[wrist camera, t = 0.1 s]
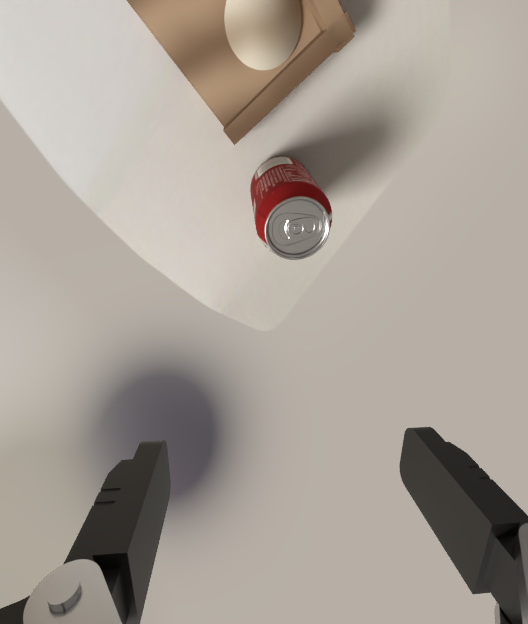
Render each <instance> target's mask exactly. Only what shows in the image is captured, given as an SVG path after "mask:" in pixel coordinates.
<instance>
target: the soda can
mask: <svg viewBox="0 0 528 624" xmlns="http://www.w3.org/2000/svg"><path fill="white" fill-rule="evenodd" d="M250 191H251V199H252V205H253V211H254V218H255V224H256V230H257V234H258V236H259V238H260V240H261V242H262V243H263V244H264V246H265V247H266V248H268V249H269V250H270V251H272V252H273V253H275V254H277V255H278V256H280V257H282V258H285V259H290V260H299V259H304V258H307V257H309V256H311V255H313V254H314V253H316V252H317V251H318V250H319V249H320V248H321V247H322V246H323V245H324V243H325V242H326V240H327V238H328V235H329V231H330V227H331V223H332V210H331V206H330V203H329V201H328V199H327V197H326V196H325V194H324V193H323V192H322V190H321V189H320V188H319V186H318V185H317V183H316V182H315V181H314V179H313V178H312V177H311V175H310V174H309V173H308V171H307V170H306V168H305V167H304V166H303V165H302V164H301V163H300V162H298V161H297V160H295V159H293V158H290V157H282V156H281V157H275V158H272V159H269V160H267V161H266V162H264V163H263V164H262V165H261V166H260V167H259V168H258V169H257V171H256V172H255V174H254V176H253V178H252V181H251V190H250Z"/></svg>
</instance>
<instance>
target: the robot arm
mask: <svg viewBox="0 0 528 624" xmlns="http://www.w3.org/2000/svg"><path fill="white" fill-rule="evenodd" d="M400 474H401V478H402V481H403V483H404V485H405V487H406V488H407V490H408V492H409V493H410V495H411V496H412V498H413V500H414V501H415V503H416V504H417V506H418V507H419V509H420V511H421V512H422V514H423V516H424V517H425V519H426V520H427V522H428V524H429V525H430V527H431V528H432V530H433V531H434V533H435V535H436V536H437V538H438V539H439V541H440V543H441V544H442V546H443V547H444V549H445V551H446V552H447V554H448V555H449V557H450V558H451V560H452V562H453V563H454V565H455V566H456V568H457V569H458V571H459V573H460V574H461V576H462V577H463V579H464V581H465V582H466V584H467V586H468V587H469V589H470V590H471V592H472V594H480V593H490V592H491V594H492V595H493V597H494V598H495V600H496V601H497V603H496V606H495V624H528V516H527V515H526V513H525V512H524V511H523V510H522V509H521V508H519V506H518V505H517V504H516V503H515V502H514V501H513V500H512V499H511V498H510V497H509V496H508V495H507V494H506V493H505V492H504V491H503V490H502V489H501V488H500V487H499V486H498V485H497V484H496V483H495V482H494V481H493V480H491V479H490V478H489V476H488V475H487V474H486V473H485V471H483V469H482V468H479V466H478V464H477V463H476V462H475V461H474V460H473V459H472V458H471V457H470V456H469V455H468V454H467V453H466V452H464V451H462V450H461V449H459V448H458V447H456V446H455V445H453V444H451V443H450V442H445V441H444V440H443V439H442V437H441V436H440V435H439V434H438V433H437V432H436V431H435V430H434V429H433V428H431V427H420V428H408V429H406V431H405V434H404V441H403V447H402V453H401V460H400ZM169 495H170V471H169V461H168V452H167V443H166V441H164V440H162V441H143V442H141V443H140V444H139V446H138V449H137V451H136V453H135V456H134V458H133V459H132V460H121V462H119V463H118V465H116V466H115V468H114V469H113V470H111V472H109V474H108V476H107V477H106V480H105V482H104V484H103V486H102V488H101V492H99V494H98V496H97V498H96V500H95V502H94V506H92V508H91V510H90V512H89V514H88V516H87V518H86V520H85V522H84V524H83V526H82V528H81V530H80V532H79V534H78V536H77V538H76V540H75V542H74V545H73V546H72V548H71V550H70V552H69V555H68V556H67V558H66V560H65V562H64V564H63V565H62V566H60V567H58V568H57V569H55V570H54V571H52V572H51V573H50V574H48V575H47V576H46V577H45V578H44V579H43V580H42V581H41V582H40V583H39V584H38V585H37V587H36V588H35V589H34V591H33V592H32V594H31V595H30V596H28V597H27V598H25V599H23V600H21V601H19V602H16V603H14V604H11V605H9V606H6V607H4V608H1V609H0V624H140V620H141V616H142V611H143V608H144V603H145V599H146V595H147V590H148V586H149V582H150V578H151V574H152V569H153V565H154V560H155V556H156V552H157V548H158V544H159V540H160V535H161V531H162V527H163V523H164V518H165V514H166V510H167V506H168V501H169Z"/></svg>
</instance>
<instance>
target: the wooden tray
mask: <svg viewBox="0 0 528 624" xmlns="http://www.w3.org/2000/svg"><path fill="white" fill-rule="evenodd" d="M127 1H128V3H129V4H130V5H131V7H132V8H133V9H134V10H135V12H136V13H137V14H138V16H139V17H140V18H141V20H142V21H143V22H144V23H145V25H146V26H147V27H148V29H149V30H150V31H151V33H152V34H153V35H154V36H155V38H156V39H157V40H158V42H159V43H160V44H161V46H162V47H163V48H164V49H165V51H166V52H167V53H168V55H169V56H170V57H171V59H172V60H173V61H174V62H175V64H176V65H177V66H178V68H179V69H180V70H181V72H182V73H183V74H184V75H185V77H186V78H187V79H188V81H189V82H190V83H191V85H192V86H193V87H194V88H195V90H196V91H197V92H198V94H199V95H200V96H201V98H202V99H203V100H204V101H205V103H206V104H207V105H208V107H209V108H210V109H211V111H212V112H213V113H214V114H215V116H216V117H217V118H218V120H219V121H220V122H221V124H222V125H223V126H224V132H225V133H226V135H227V136H228V137H229V139H230V140H231V141H232V142H233V144H234V145H235V144H236V143H237V142H238V141H239V140H240V139H241V138H242V137H243V136H245V135H246V134H247V133H248V132H249V131H250V130H251V129H252V128H253V127H254V126H255V125H256V124H257V123H258V122H259V121H260V120H262V119H263V118H264V117H265V116H266V115H267V114H268V113H269V112H270V111H271V110H272V109H273V108H274V107H275V106H276V105H277V104H279V103H280V102H281V101H282V100H283V99H284V98H285V97H286V96H287V95H288V94H289V93H290V92H291V91H292V90H293V89H294V88H295V87H297V86H298V85H299V84H300V83H301V82H302V81H303V80H304V79H305V78H306V77H307V76H308V75H309V74H310V73H311V72H312V71H314V70H315V69H316V68H317V67H318V66H319V65H320V64H321V63H322V62H323V61H324V60H325V59H326V58H327V57H328V56H329V55H331V54H332V53H333V52H339V51H340V50H341V49H342V48H343V47H344V46H345V45H346V44H347V43H348V42H349V41H350V40H352V39H353V38H354V34H353V33H354V32H355V31H356V30H355V28H354V26H353V23H352V21H351V19H350V17H349V14H348V12H347V11H345V12H343V10H342V8H341V6H340V4H339V2H338V0H127Z"/></svg>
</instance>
